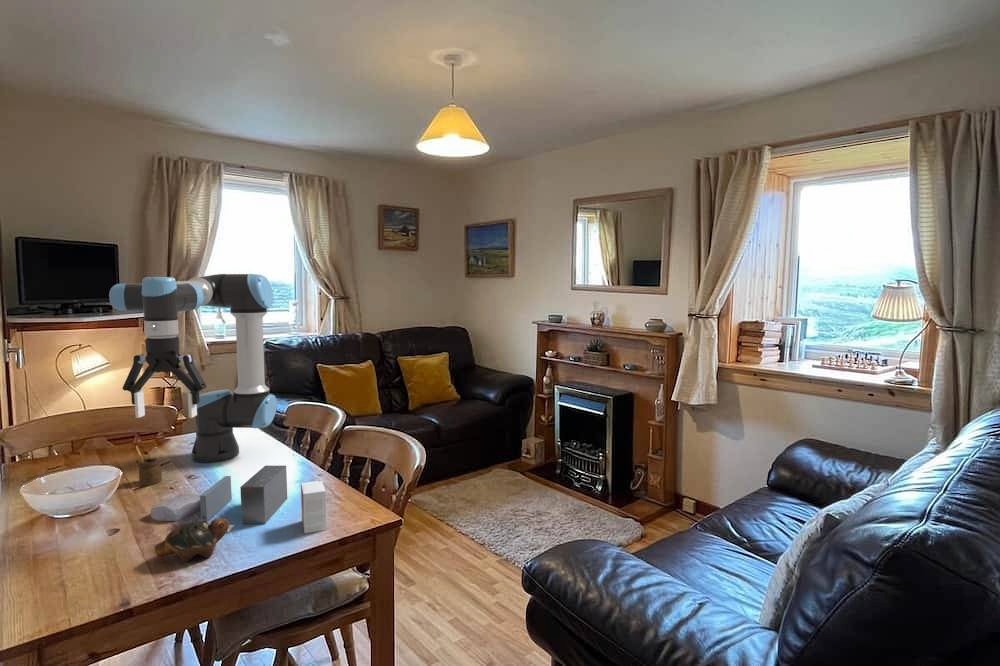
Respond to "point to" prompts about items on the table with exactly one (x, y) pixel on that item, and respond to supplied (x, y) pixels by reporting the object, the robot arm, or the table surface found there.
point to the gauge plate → (215, 498)
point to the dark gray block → (263, 494)
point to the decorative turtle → (193, 539)
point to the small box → (313, 506)
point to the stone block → (177, 507)
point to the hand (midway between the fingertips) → (166, 416)
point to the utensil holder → (149, 470)
